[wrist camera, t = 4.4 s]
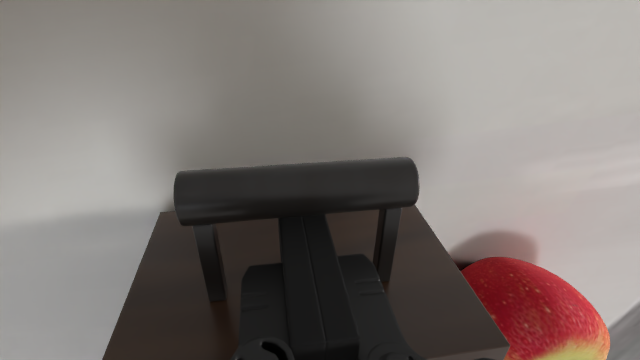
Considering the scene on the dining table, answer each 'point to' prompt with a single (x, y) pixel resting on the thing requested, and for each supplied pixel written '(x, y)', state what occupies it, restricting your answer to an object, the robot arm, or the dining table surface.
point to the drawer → (263, 248)
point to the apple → (538, 311)
